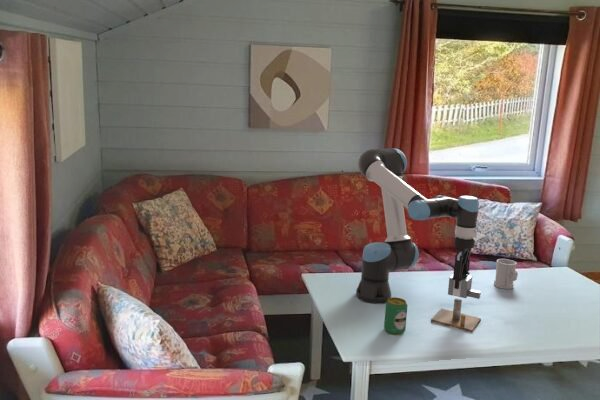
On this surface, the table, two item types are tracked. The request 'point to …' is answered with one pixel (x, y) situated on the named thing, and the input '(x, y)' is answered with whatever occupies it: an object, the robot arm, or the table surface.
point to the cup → (505, 273)
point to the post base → (454, 323)
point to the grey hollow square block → (464, 287)
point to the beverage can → (395, 316)
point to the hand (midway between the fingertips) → (459, 292)
